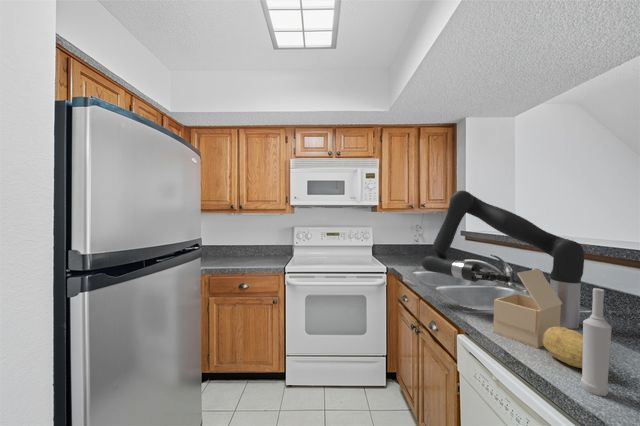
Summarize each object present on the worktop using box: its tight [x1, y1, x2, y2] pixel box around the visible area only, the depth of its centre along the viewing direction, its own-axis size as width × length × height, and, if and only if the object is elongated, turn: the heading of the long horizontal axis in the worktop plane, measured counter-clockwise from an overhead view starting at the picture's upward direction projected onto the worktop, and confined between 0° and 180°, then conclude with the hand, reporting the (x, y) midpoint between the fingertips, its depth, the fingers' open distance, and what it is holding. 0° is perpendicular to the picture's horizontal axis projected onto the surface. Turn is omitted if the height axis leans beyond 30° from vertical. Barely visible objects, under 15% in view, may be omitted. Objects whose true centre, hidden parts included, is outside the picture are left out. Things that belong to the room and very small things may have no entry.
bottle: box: [580, 287, 612, 397], centre depth 75 cm, size 5×5×25 cm
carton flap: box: [516, 268, 563, 311], centre depth 104 cm, size 15×13×1 cm
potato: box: [542, 327, 583, 369], centre depth 88 cm, size 10×14×10 cm
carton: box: [492, 293, 561, 349], centre depth 107 cm, size 17×14×12 cm
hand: (509, 279), depth 112 cm, fingers closed
